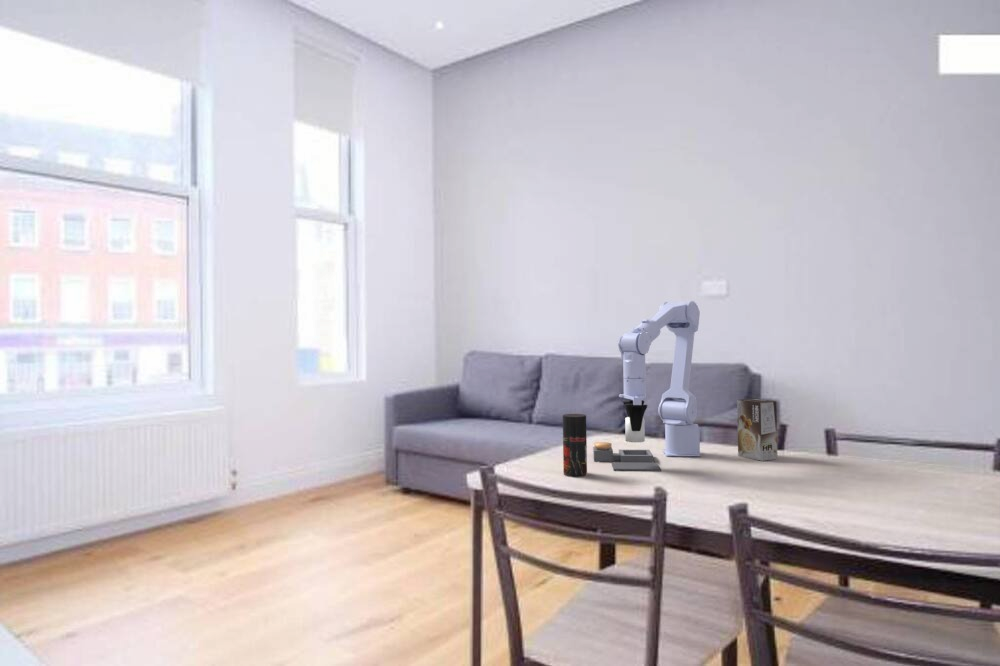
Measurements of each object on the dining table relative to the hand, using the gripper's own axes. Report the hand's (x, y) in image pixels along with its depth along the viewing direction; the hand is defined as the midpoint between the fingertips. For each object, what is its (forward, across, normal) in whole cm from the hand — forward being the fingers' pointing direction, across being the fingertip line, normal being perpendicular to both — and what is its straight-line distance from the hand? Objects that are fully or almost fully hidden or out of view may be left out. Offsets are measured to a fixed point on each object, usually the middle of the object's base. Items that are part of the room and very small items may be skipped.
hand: (635, 429), depth 175 cm
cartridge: (+3, 0, 0) cm, 3 cm away
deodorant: (+10, +9, -16) cm, 21 cm away
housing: (+10, -10, -4) cm, 14 cm away
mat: (+10, 0, 0) cm, 10 cm away
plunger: (+9, -9, -8) cm, 16 cm away
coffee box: (+10, -14, +35) cm, 39 cm away
